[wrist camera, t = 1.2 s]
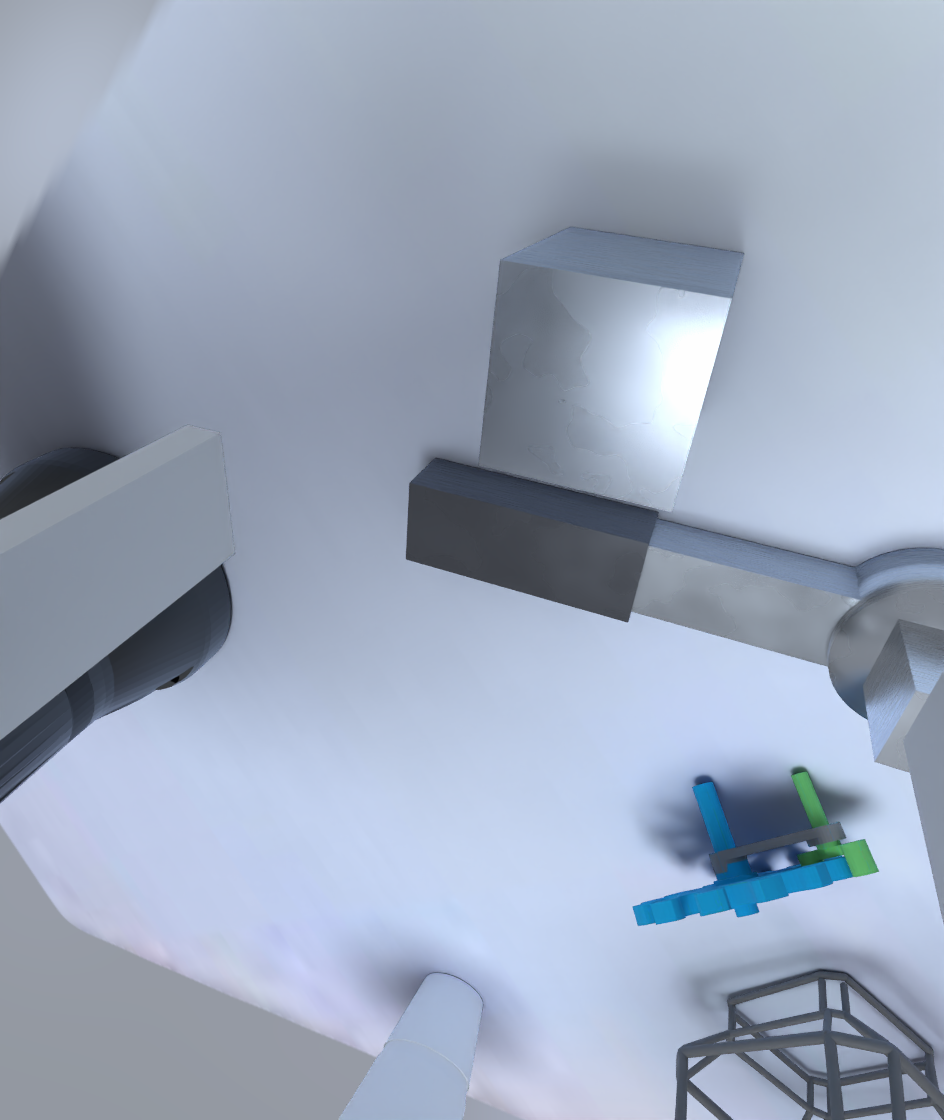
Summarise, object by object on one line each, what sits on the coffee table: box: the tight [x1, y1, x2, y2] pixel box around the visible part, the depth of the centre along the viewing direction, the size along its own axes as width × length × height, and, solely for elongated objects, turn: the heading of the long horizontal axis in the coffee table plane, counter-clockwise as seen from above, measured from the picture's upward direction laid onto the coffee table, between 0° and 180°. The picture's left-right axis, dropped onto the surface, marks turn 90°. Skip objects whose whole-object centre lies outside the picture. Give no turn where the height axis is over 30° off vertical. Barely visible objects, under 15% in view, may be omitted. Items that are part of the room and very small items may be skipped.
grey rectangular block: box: [479, 227, 744, 512], centre depth 23 cm, size 6×6×8 cm
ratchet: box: [406, 458, 944, 773], centre depth 27 cm, size 24×6×7 cm, turn 85°
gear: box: [633, 772, 879, 926], centre depth 34 cm, size 11×6×10 cm
